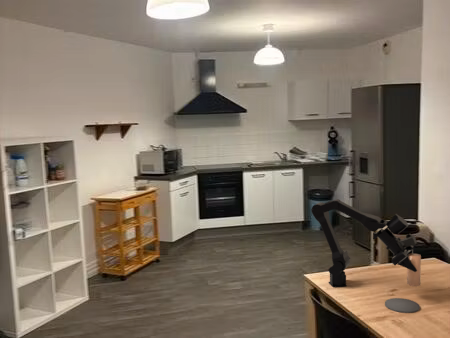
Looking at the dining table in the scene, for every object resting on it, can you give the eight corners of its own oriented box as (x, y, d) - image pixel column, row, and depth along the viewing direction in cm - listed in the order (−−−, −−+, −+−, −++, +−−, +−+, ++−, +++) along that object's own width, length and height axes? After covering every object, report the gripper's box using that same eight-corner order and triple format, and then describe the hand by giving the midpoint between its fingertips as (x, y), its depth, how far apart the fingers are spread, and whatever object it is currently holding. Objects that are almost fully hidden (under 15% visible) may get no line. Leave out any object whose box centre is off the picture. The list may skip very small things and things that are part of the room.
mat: (395, 314, 173) (395, 312, 173) (379, 301, 186) (379, 299, 186) (426, 311, 175) (426, 309, 175) (407, 298, 188) (407, 296, 188)
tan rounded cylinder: (411, 286, 186) (411, 257, 185) (404, 282, 192) (405, 254, 190) (423, 285, 187) (423, 256, 186) (415, 281, 192) (416, 253, 191)
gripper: (400, 233, 181) (429, 264, 177) (408, 224, 197) (435, 252, 192) (379, 250, 186) (407, 280, 181) (389, 240, 202) (415, 267, 197)
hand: (417, 269), depth 188 cm, fingers closed on tan rounded cylinder, 5 cm apart
